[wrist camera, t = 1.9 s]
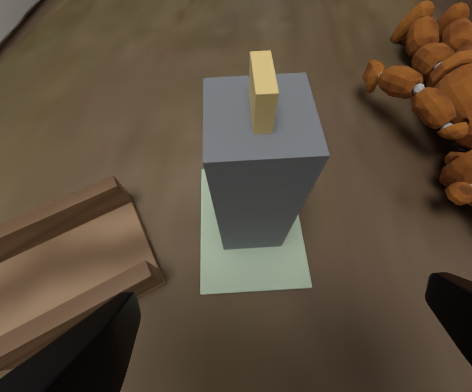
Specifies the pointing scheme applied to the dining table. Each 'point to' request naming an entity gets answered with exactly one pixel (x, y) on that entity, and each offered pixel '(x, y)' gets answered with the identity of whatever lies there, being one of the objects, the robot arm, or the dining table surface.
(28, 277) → the walnut rack
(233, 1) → the dining table surface
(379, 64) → the toy
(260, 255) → the sage mat
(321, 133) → the slate block
